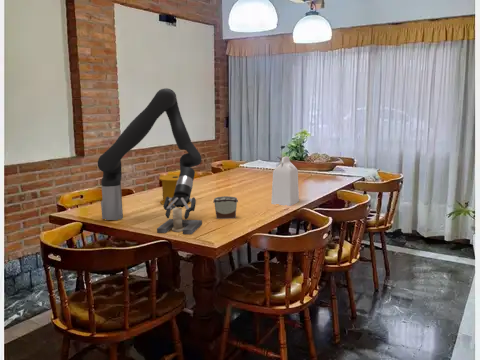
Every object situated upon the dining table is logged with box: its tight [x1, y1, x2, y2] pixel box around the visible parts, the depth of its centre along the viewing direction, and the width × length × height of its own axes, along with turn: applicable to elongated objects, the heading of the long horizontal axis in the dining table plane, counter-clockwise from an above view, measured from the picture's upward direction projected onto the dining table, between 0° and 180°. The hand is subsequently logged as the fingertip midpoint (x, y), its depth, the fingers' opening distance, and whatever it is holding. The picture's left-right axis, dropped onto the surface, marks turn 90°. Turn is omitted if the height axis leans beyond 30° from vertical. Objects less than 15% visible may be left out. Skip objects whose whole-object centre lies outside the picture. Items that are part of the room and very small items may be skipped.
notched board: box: [156, 218, 203, 235], centre depth 203 cm, size 16×16×2 cm
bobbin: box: [171, 207, 185, 233], centre depth 200 cm, size 5×5×10 cm
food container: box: [212, 195, 239, 220], centre depth 221 cm, size 12×6×10 cm, turn 92°
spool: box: [158, 174, 191, 206], centre depth 254 cm, size 18×18×15 cm
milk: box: [270, 155, 300, 207], centre depth 248 cm, size 12×12×26 cm
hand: (176, 217), depth 198 cm, fingers open, 8 cm apart
